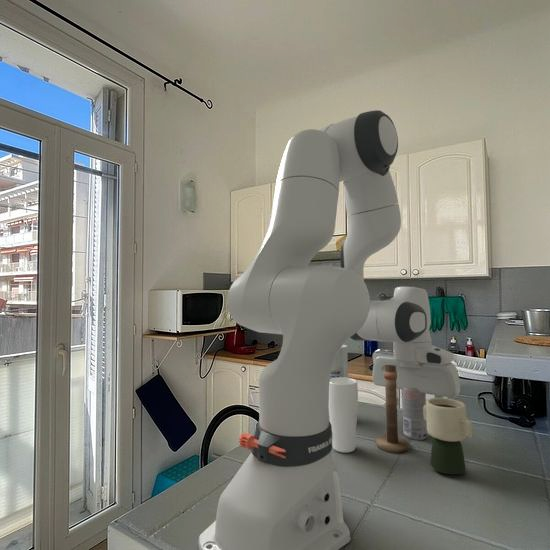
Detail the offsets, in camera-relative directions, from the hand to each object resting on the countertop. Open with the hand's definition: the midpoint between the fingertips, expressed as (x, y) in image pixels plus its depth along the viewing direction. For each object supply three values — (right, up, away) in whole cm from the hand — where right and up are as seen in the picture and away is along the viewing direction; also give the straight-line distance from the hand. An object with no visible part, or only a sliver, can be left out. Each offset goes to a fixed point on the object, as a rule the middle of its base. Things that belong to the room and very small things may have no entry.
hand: (414, 409), depth 85 cm
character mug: (0, -6, -17) cm, 18 cm away
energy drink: (0, -7, 0) cm, 6 cm away
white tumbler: (-19, -6, -7) cm, 21 cm away
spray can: (-17, -7, +12) cm, 22 cm away
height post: (-7, -6, -6) cm, 11 cm away
